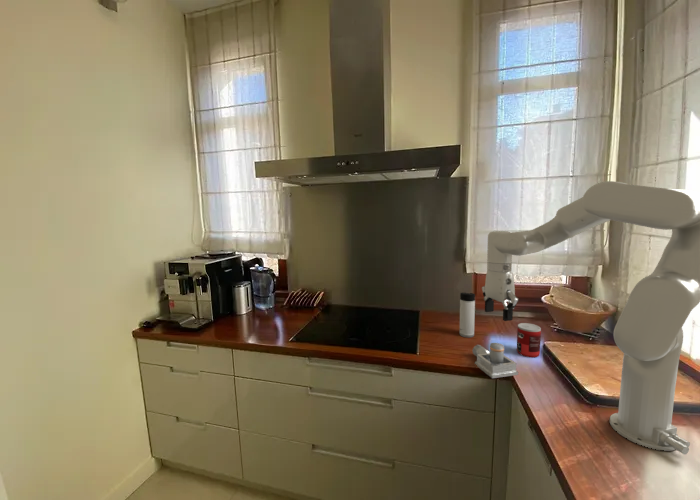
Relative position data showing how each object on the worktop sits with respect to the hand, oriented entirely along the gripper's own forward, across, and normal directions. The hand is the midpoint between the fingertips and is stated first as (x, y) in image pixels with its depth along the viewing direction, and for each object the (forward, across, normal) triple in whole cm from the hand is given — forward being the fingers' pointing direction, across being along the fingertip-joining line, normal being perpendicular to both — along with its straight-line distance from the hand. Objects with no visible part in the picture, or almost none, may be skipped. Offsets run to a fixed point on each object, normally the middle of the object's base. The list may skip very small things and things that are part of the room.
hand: (498, 315), depth 107 cm
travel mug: (+20, +30, -7) cm, 37 cm away
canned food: (+20, +8, -20) cm, 29 cm away
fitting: (+20, +3, 0) cm, 20 cm away
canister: (+19, 0, 0) cm, 19 cm away
